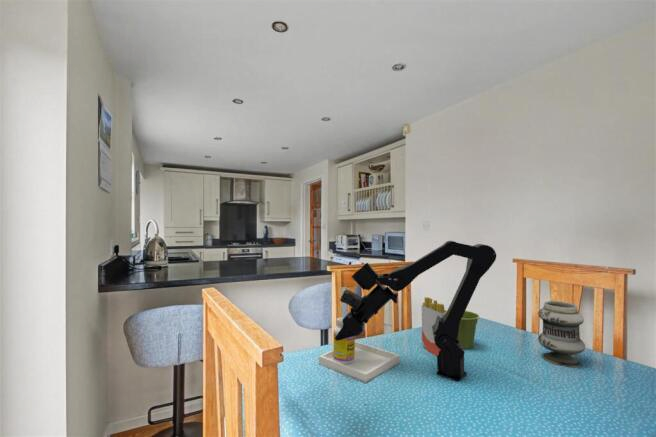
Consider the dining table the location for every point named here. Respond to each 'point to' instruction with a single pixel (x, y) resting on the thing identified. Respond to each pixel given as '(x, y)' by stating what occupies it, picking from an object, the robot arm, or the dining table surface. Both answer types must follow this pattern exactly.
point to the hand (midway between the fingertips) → (339, 334)
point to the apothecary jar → (561, 333)
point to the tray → (363, 362)
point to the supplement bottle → (343, 346)
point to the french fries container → (430, 323)
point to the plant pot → (467, 329)
